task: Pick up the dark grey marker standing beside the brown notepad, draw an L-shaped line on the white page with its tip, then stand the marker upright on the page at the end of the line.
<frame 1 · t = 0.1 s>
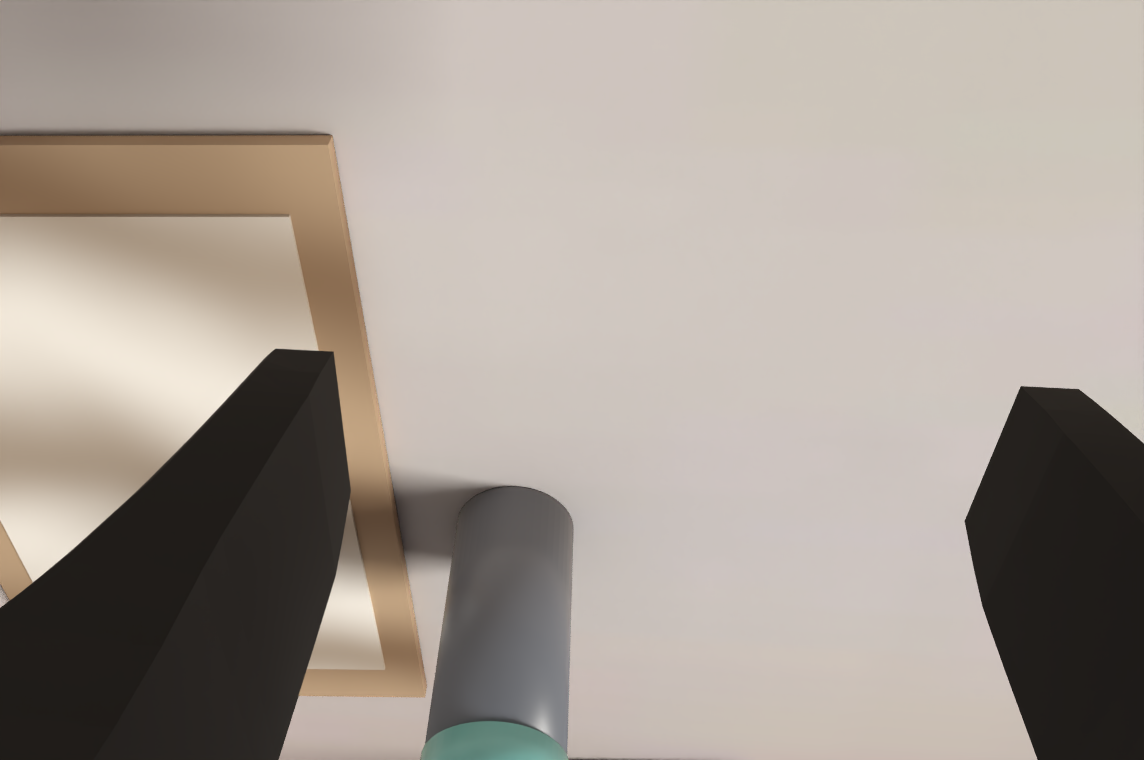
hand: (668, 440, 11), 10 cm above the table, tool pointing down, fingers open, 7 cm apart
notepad: (169, 470, 26), on the table
marker: (515, 527, 27), on the table
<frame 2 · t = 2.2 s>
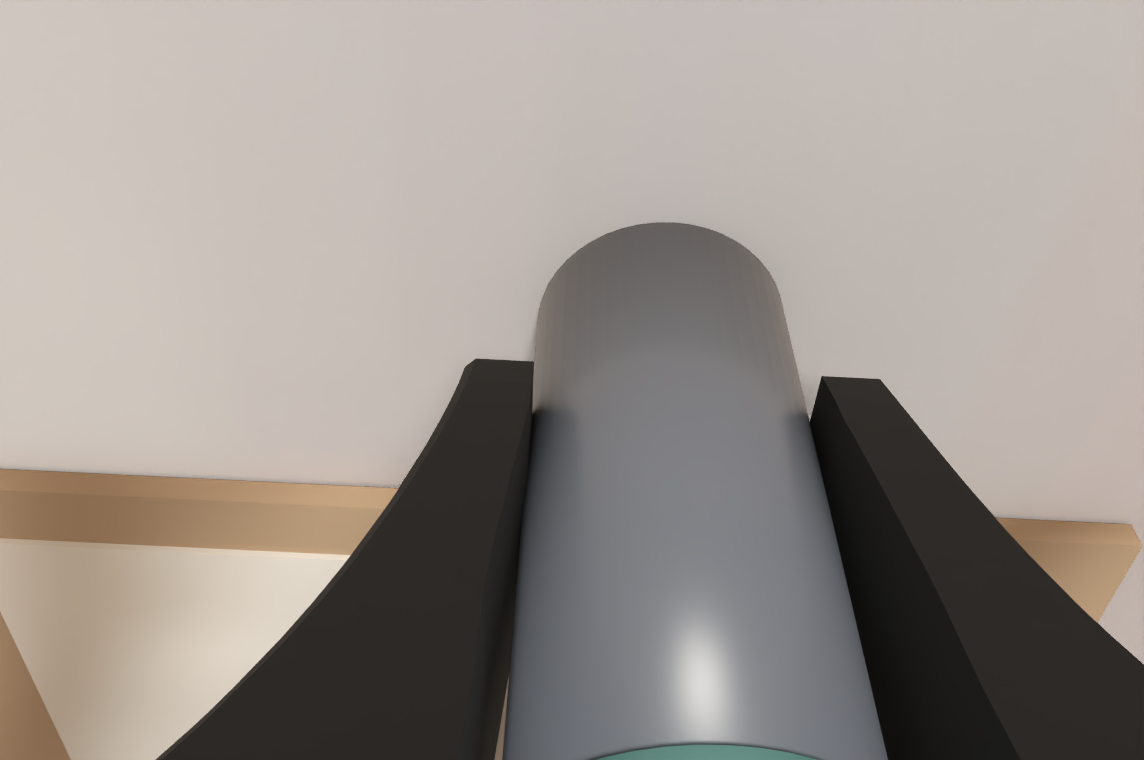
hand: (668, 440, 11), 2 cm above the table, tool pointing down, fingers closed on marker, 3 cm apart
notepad: (496, 715, 18), on the table
marker: (659, 328, 13), on the table, touching gripper
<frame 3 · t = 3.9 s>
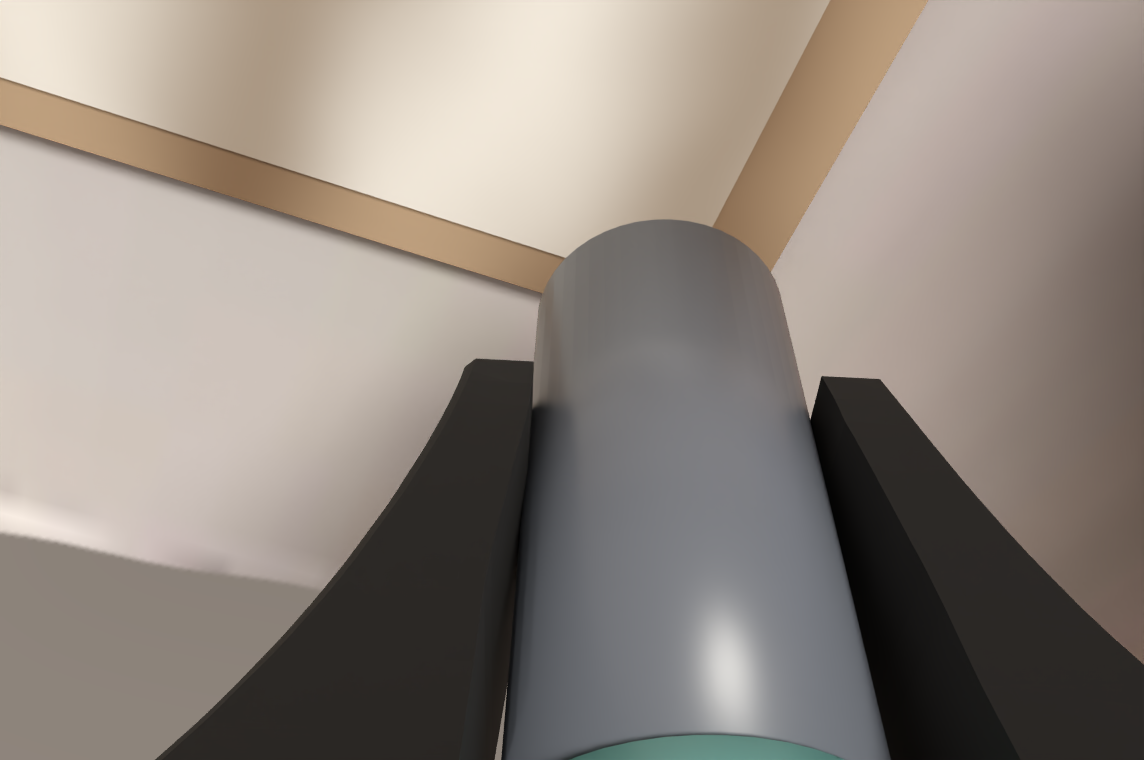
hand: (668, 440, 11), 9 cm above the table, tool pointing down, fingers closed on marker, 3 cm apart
marker: (659, 326, 13), point 7 cm above the table, touching gripper
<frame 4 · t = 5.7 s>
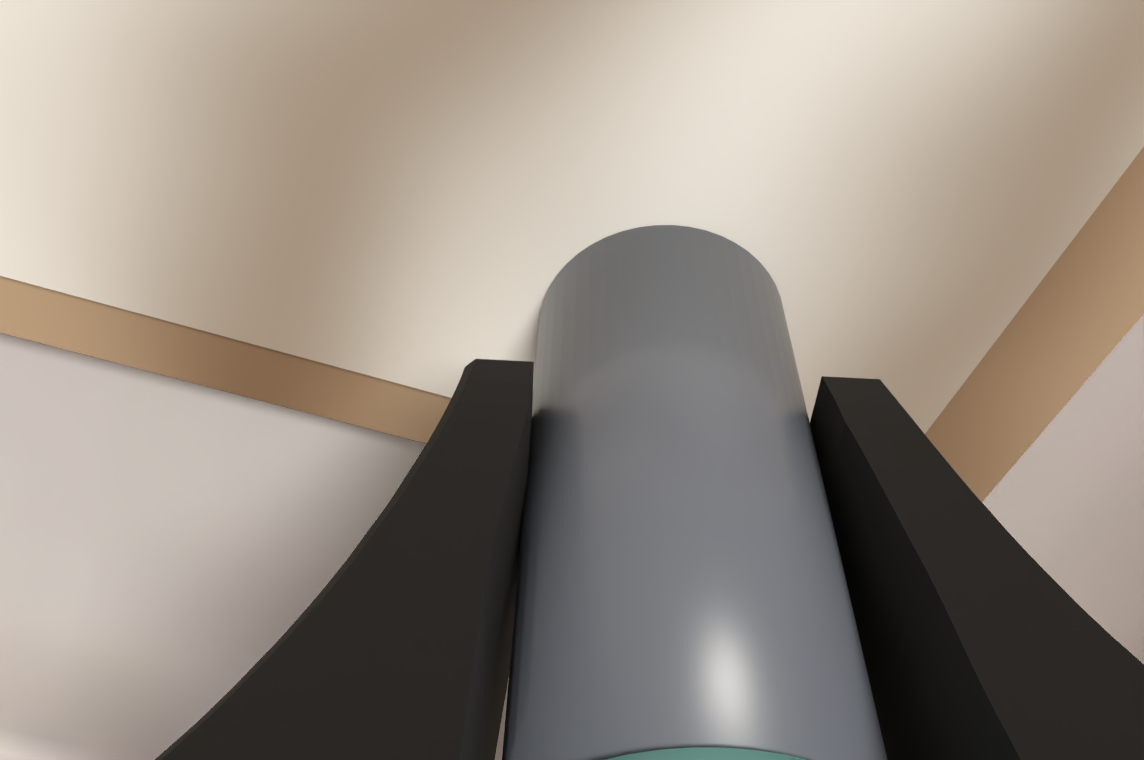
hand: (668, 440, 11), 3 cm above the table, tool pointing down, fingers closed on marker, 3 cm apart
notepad: (434, 25, 11), on the table
marker: (660, 331, 13), point 1 cm above the table, touching gripper
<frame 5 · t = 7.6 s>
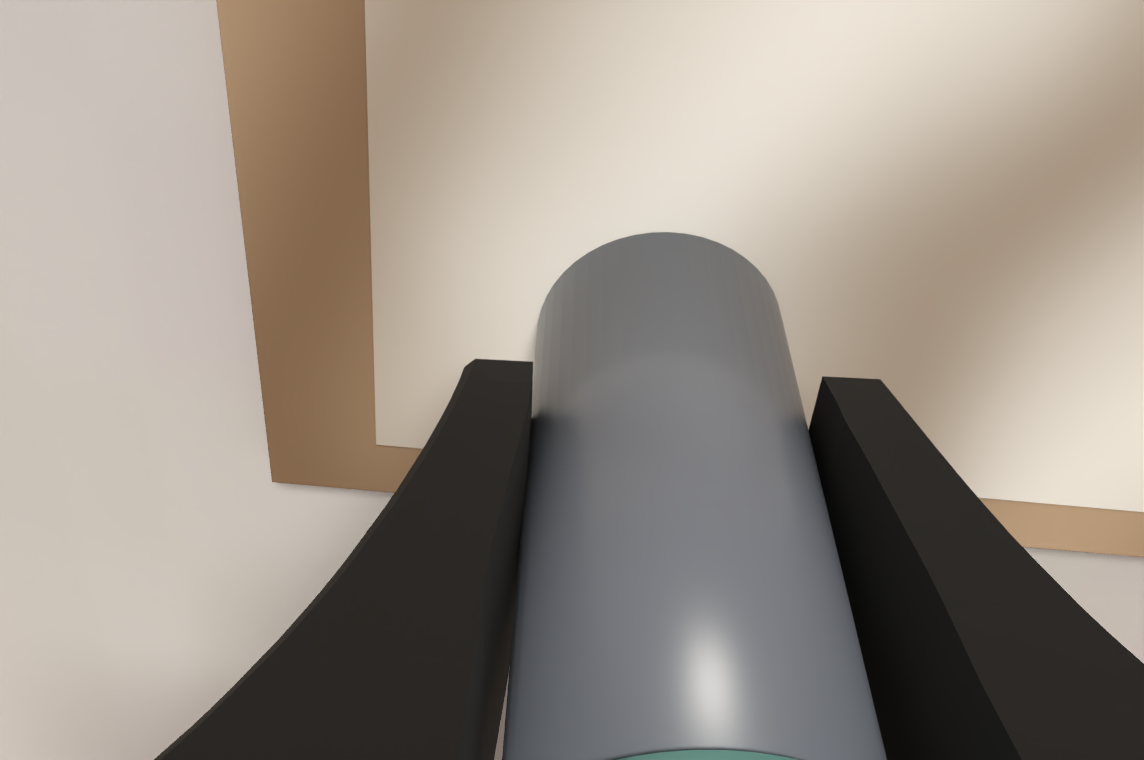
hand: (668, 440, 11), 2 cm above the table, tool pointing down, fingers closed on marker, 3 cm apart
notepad: (1030, 187, 12), on the table
marker: (658, 338, 13), point 1 cm above the table, touching gripper
when the fingers open (3 cm above the table, at t = 9.3 s): marker drops 1 cm, resting on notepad.
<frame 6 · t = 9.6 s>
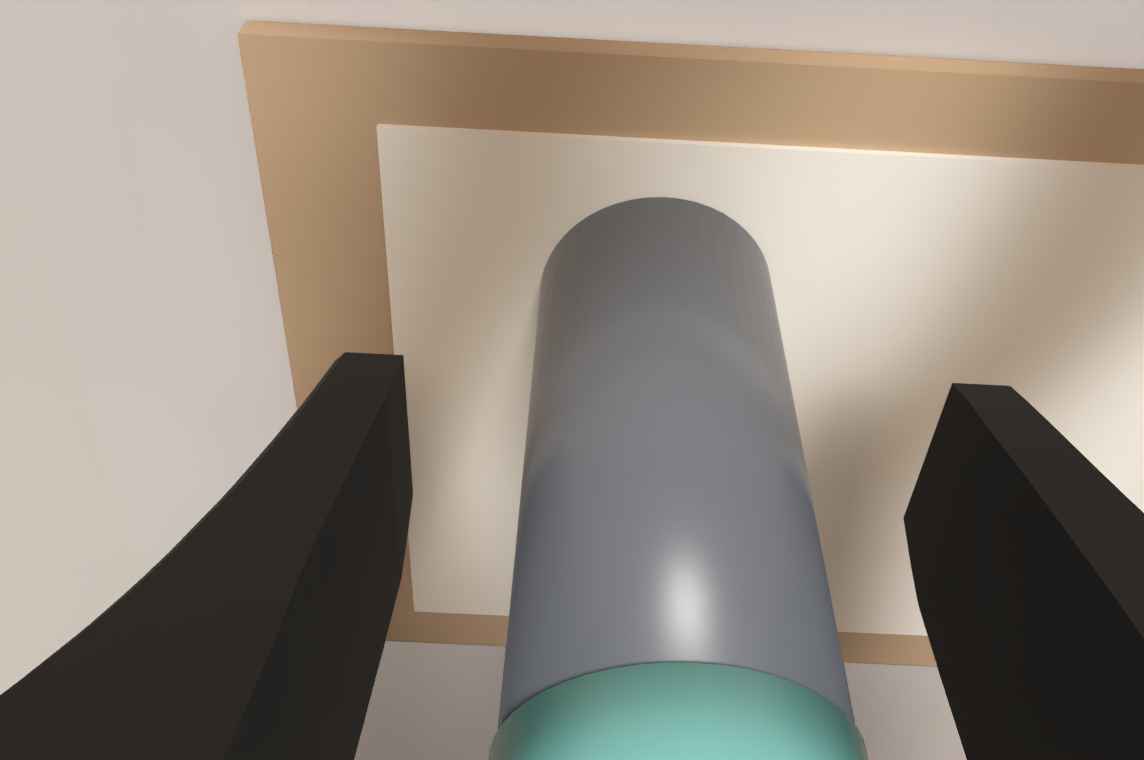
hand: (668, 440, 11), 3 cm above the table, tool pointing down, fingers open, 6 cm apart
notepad: (905, 418, 16), on the table
marker: (654, 296, 14), point 1 cm above the table, touching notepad
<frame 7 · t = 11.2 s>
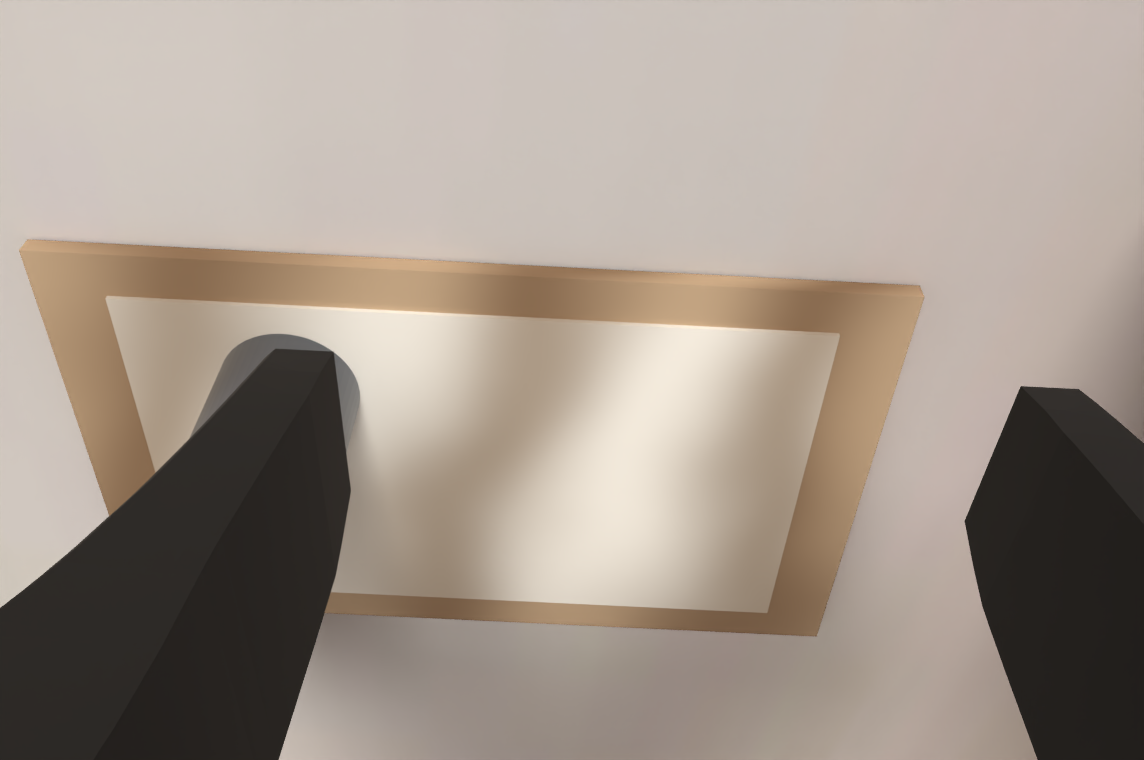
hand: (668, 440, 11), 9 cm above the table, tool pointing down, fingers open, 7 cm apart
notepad: (478, 460, 24), on the table
marker: (290, 389, 23), point 1 cm above the table, touching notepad
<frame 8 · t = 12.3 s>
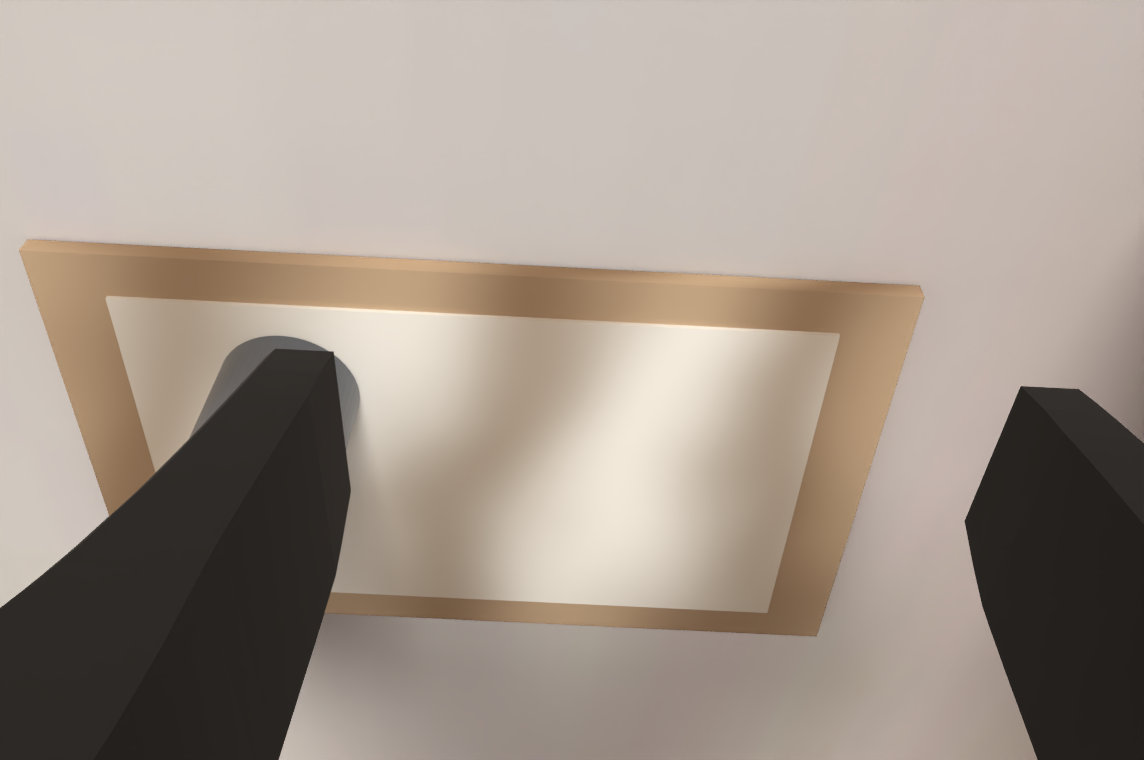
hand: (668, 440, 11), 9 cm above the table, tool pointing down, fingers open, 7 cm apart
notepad: (478, 460, 24), on the table
marker: (290, 390, 23), point 1 cm above the table, touching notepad
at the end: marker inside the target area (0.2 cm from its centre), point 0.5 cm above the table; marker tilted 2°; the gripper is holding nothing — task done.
